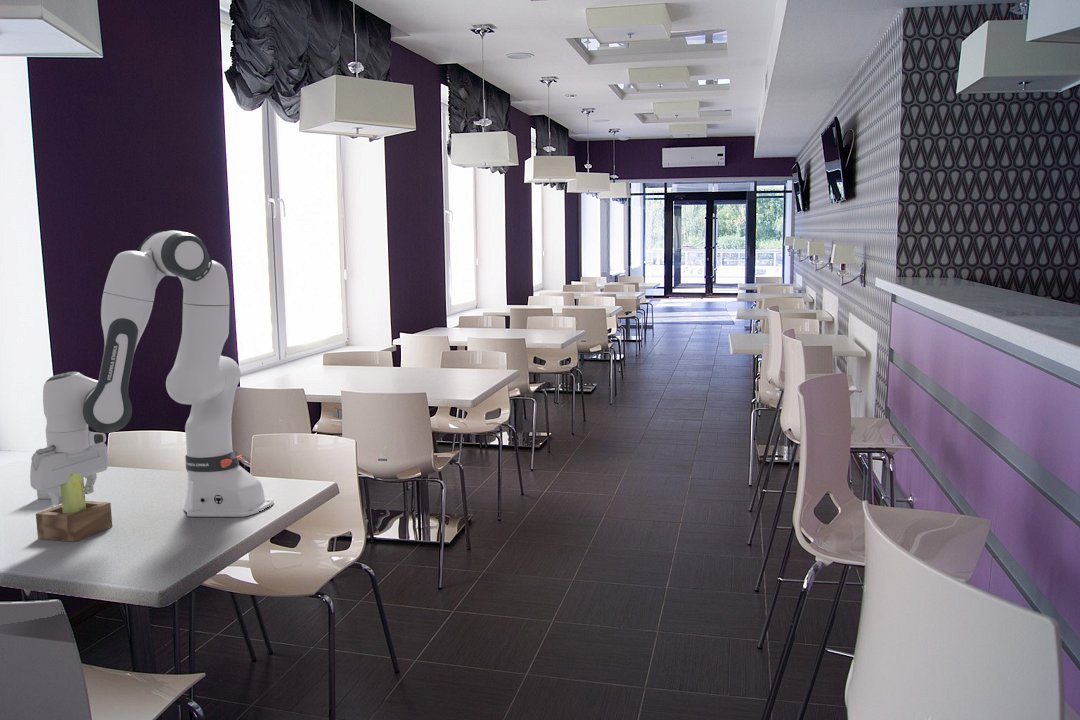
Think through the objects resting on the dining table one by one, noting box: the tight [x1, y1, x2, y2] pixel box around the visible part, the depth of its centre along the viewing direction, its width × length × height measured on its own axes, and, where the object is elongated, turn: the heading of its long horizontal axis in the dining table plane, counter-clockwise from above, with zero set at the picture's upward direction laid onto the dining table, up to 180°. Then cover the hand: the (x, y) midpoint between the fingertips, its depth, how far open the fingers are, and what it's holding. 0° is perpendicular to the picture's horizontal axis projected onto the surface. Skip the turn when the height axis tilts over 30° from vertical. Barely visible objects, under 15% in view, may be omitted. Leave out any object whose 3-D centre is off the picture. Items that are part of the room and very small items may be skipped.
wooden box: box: [35, 500, 113, 543], centre depth 206 cm, size 11×12×6 cm
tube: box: [60, 474, 86, 514], centre depth 205 cm, size 6×5×20 cm
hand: (73, 498), depth 205 cm, fingers open, 8 cm apart
